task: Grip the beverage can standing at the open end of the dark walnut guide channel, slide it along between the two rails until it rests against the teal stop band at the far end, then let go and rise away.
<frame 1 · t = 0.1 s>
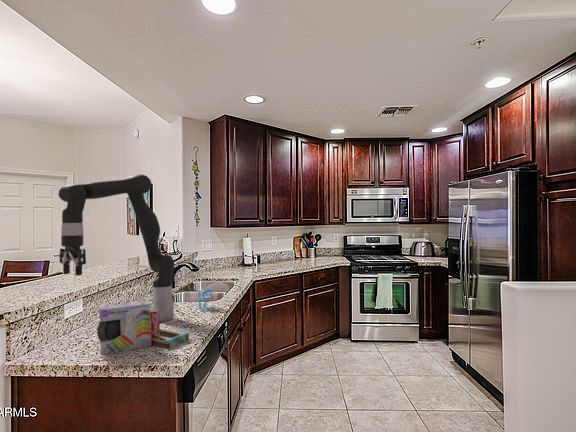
hand: (72, 274, 139), 29 cm above the counter, tool pointing down, fingers open, 8 cm apart
beverage can: (151, 338, 149), on the counter
light blue translucent piece: (205, 309, 198), on the counter
guide channel: (160, 340, 147), on the counter
cake pan box: (125, 349, 137), on the counter, touching guide channel
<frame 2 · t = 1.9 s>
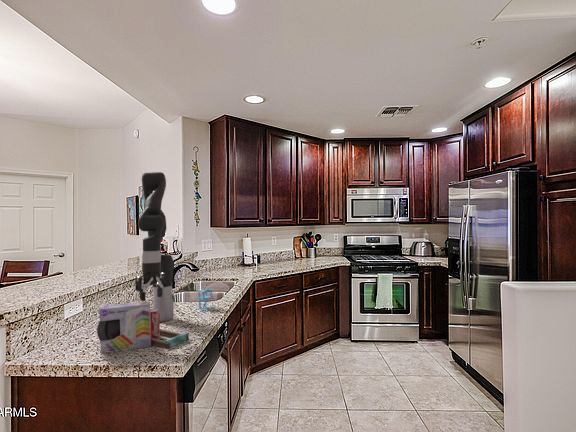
hand: (151, 298, 149), 17 cm above the counter, tool pointing down, fingers open, 8 cm apart
nothing on the counter moved.
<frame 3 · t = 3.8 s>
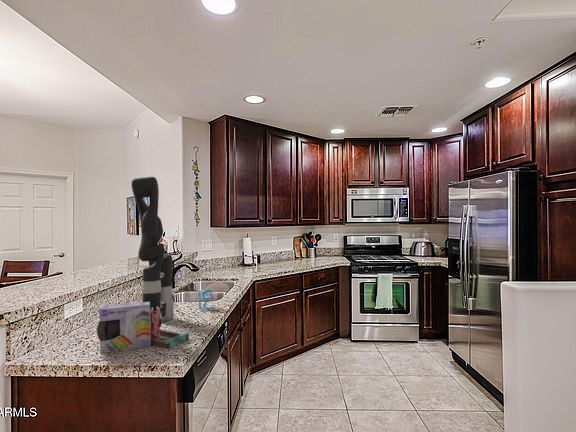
hand: (151, 329, 149), 4 cm above the counter, tool pointing down, fingers closed on beverage can, 6 cm apart
beverage can: (151, 338, 149), on the counter, touching gripper
everything else where it was.
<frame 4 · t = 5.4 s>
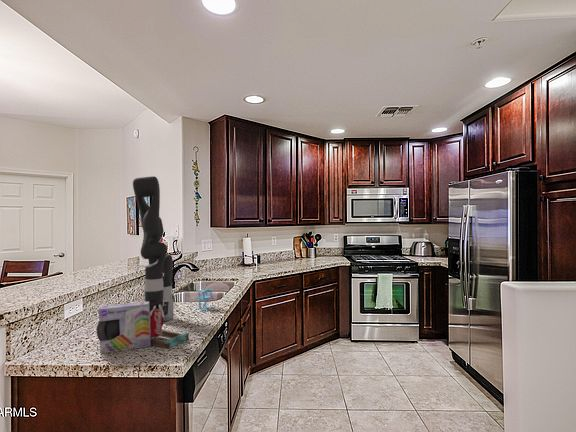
hand: (154, 327, 148), 5 cm above the counter, tool pointing down, fingers closed on beverage can, 6 cm apart
beverage can: (154, 337, 148), point 1 cm above the counter, touching gripper
everything else where it was.
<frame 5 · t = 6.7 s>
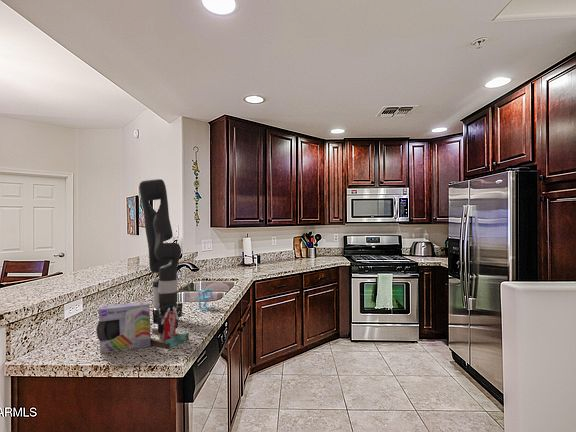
hand: (168, 330, 144), 5 cm above the counter, tool pointing down, fingers closed on beverage can, 6 cm apart
beverage can: (167, 341, 143), point 1 cm above the counter, touching gripper
everything else where it was.
when the fingers open (4 cm above the counter, at t = 7.9 s): beverage can stays where it is, on the counter.
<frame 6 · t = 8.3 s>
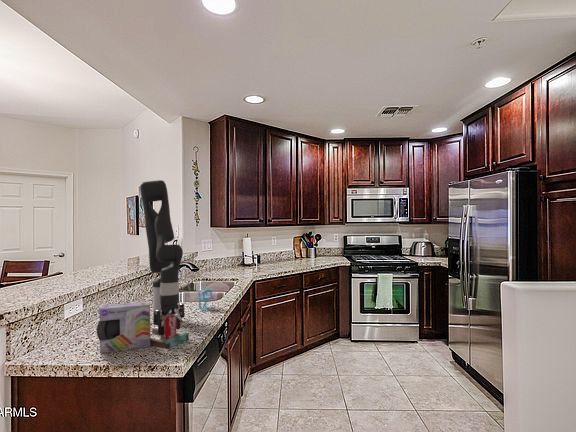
hand: (169, 331, 144), 4 cm above the counter, tool pointing down, fingers open, 8 cm apart
beverage can: (168, 343, 143), on the counter, touching gripper
everything else where it was.
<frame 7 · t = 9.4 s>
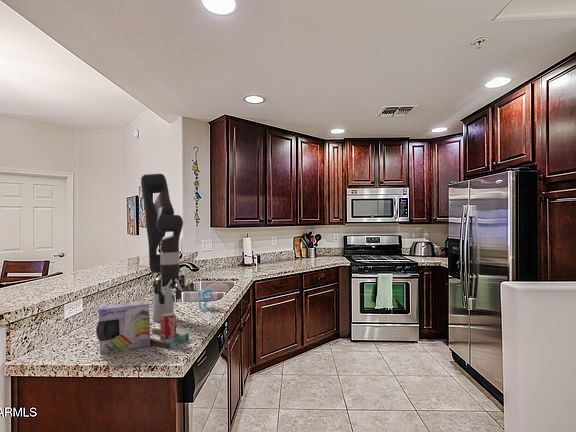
hand: (170, 301, 144), 17 cm above the counter, tool pointing down, fingers open, 8 cm apart
beverage can: (168, 343, 143), on the counter
everything else where it was.
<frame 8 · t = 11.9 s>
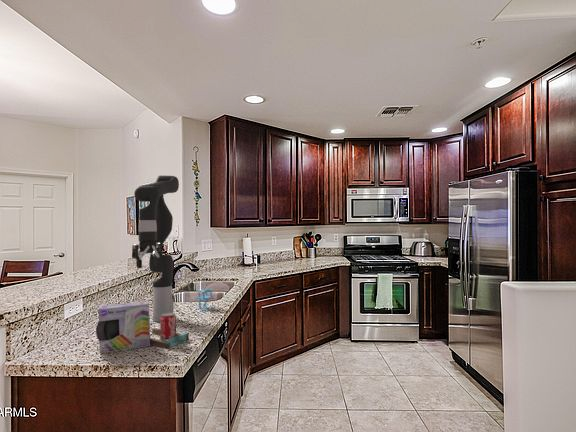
hand: (147, 267, 154), 30 cm above the counter, tool pointing down, fingers open, 8 cm apart
nothing on the counter moved.
at the end: beverage can 1.4 cm from the target spot, on the counter; beverage can tilted 0°; the gripper is holding nothing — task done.
